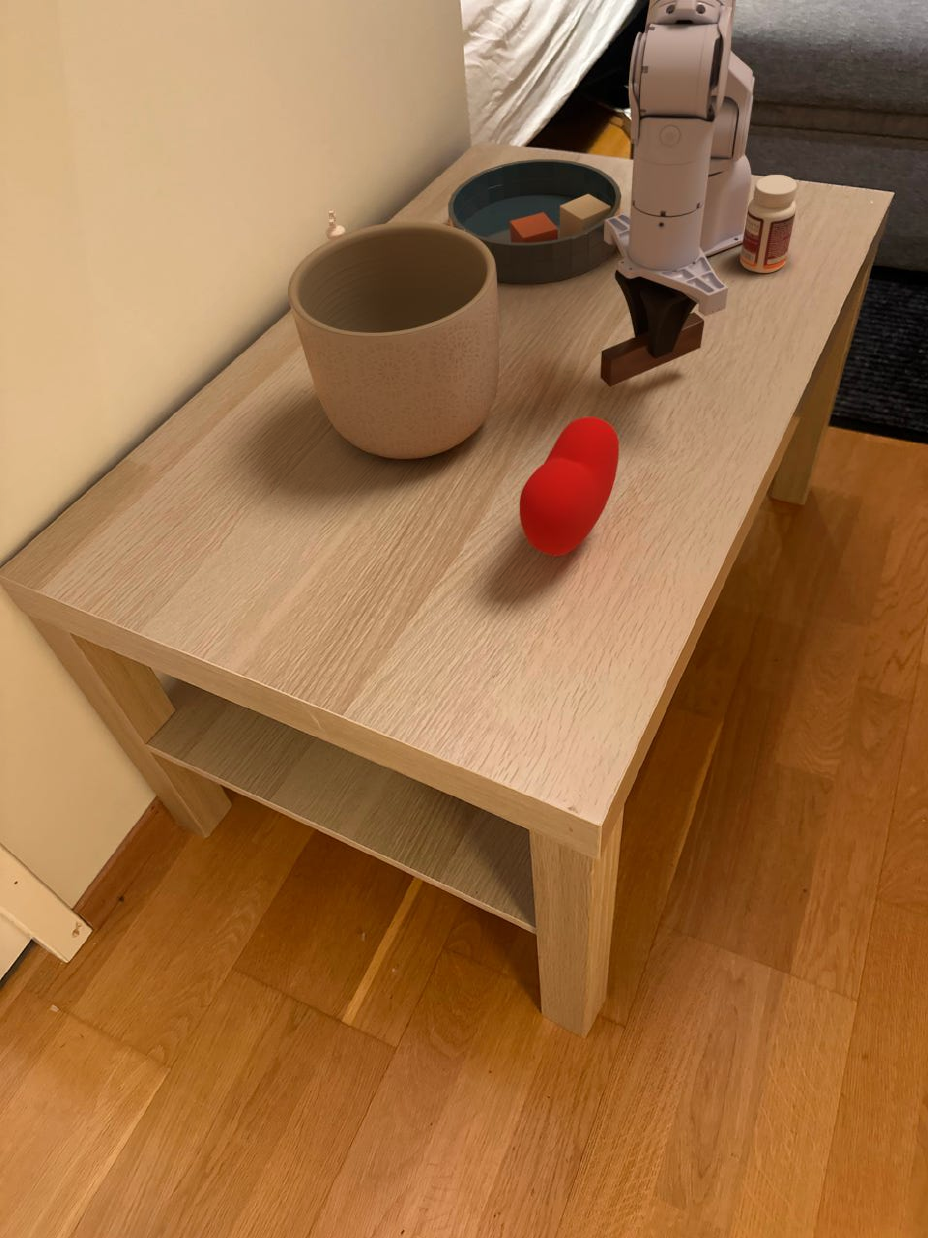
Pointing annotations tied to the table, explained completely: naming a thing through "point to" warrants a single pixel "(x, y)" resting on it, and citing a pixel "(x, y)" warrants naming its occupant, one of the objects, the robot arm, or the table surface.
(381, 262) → the planter
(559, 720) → the table surface
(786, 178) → the pill bottle
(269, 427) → the table surface
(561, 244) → the bowl
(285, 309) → the table surface
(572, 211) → the cream block
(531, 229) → the terracotta block
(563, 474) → the heart
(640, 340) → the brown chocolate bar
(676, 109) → the robot arm
